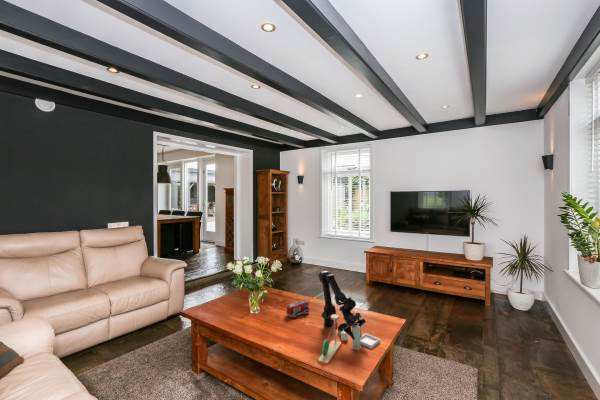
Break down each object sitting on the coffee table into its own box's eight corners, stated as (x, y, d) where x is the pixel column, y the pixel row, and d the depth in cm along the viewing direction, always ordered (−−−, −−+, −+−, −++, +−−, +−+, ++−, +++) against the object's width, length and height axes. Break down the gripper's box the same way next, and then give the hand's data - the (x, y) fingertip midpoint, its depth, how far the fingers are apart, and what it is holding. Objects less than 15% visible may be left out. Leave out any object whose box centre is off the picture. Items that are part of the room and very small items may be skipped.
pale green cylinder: (353, 350, 177) (353, 329, 176) (351, 345, 182) (351, 325, 182) (361, 349, 177) (361, 329, 177) (359, 345, 182) (359, 325, 182)
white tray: (356, 342, 186) (356, 339, 186) (365, 336, 194) (365, 333, 194) (371, 348, 178) (371, 345, 178) (380, 342, 186) (380, 339, 186)
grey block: (340, 336, 193) (340, 330, 193) (338, 333, 198) (337, 327, 198) (347, 336, 194) (347, 330, 194) (344, 332, 199) (344, 326, 199)
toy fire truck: (310, 313, 230) (310, 301, 230) (291, 319, 220) (290, 306, 220) (304, 310, 238) (304, 298, 238) (285, 315, 228) (285, 303, 227)
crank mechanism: (332, 342, 187) (332, 313, 186) (341, 344, 184) (341, 314, 183) (317, 362, 164) (316, 329, 164) (327, 365, 161) (327, 332, 161)
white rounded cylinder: (341, 341, 188) (341, 334, 187) (340, 337, 192) (340, 331, 192) (348, 340, 188) (348, 334, 188) (346, 337, 192) (346, 330, 192)
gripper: (340, 311, 178) (350, 336, 169) (364, 306, 186) (375, 330, 177) (333, 319, 186) (343, 343, 176) (356, 313, 194) (367, 336, 184)
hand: (357, 338), depth 178 cm, fingers closed on pale green cylinder, 5 cm apart
